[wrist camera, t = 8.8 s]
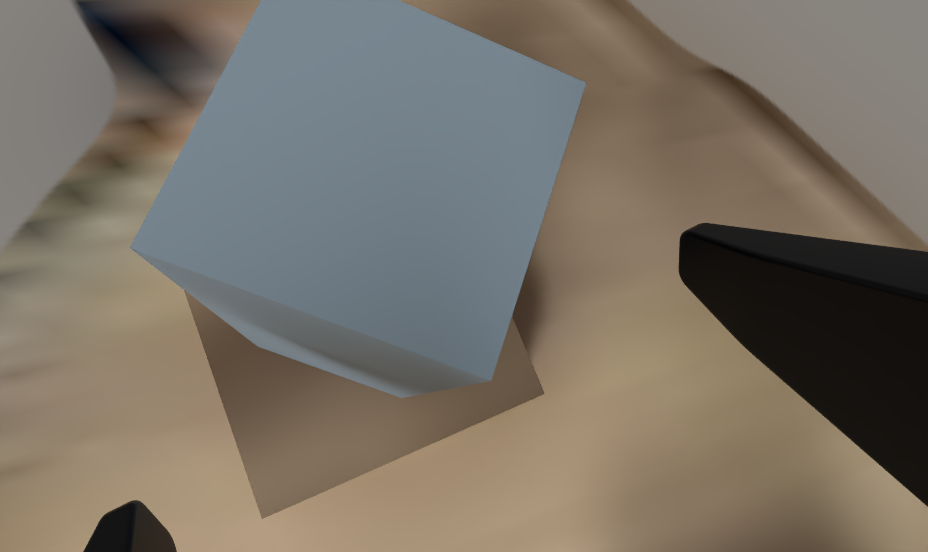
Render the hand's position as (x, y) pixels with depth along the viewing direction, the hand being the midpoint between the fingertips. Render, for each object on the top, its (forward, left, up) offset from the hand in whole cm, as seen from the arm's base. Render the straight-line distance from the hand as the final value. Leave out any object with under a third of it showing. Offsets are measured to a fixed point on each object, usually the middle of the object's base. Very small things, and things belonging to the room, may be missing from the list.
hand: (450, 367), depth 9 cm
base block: (+3, 0, -13) cm, 14 cm away
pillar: (+3, 0, -9) cm, 10 cm away
